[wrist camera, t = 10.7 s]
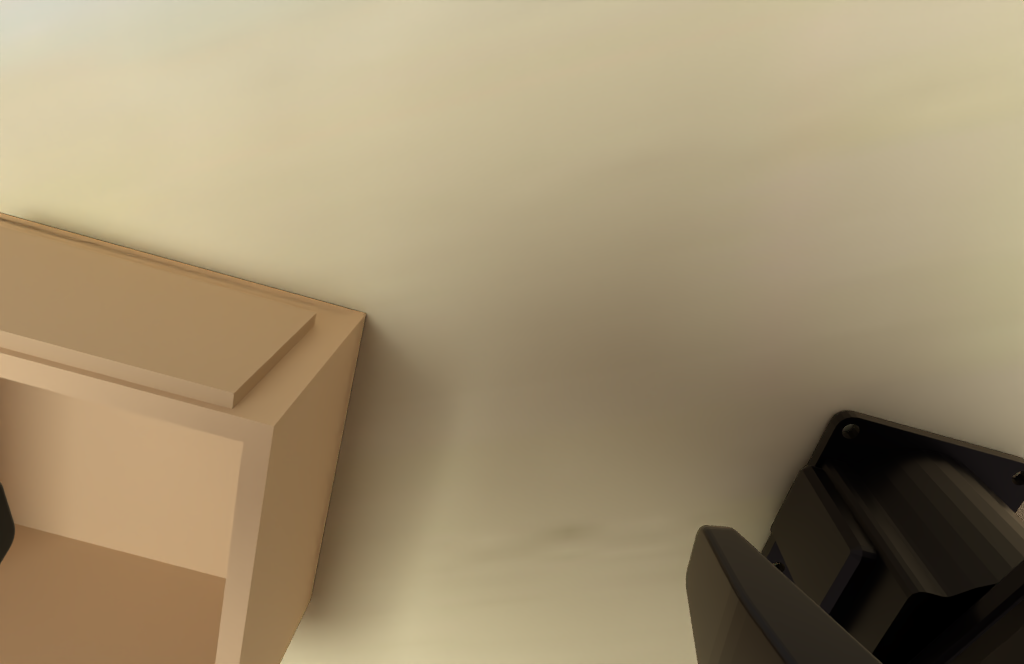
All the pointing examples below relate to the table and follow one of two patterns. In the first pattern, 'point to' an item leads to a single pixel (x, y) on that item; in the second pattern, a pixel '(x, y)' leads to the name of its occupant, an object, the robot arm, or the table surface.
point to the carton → (160, 453)
